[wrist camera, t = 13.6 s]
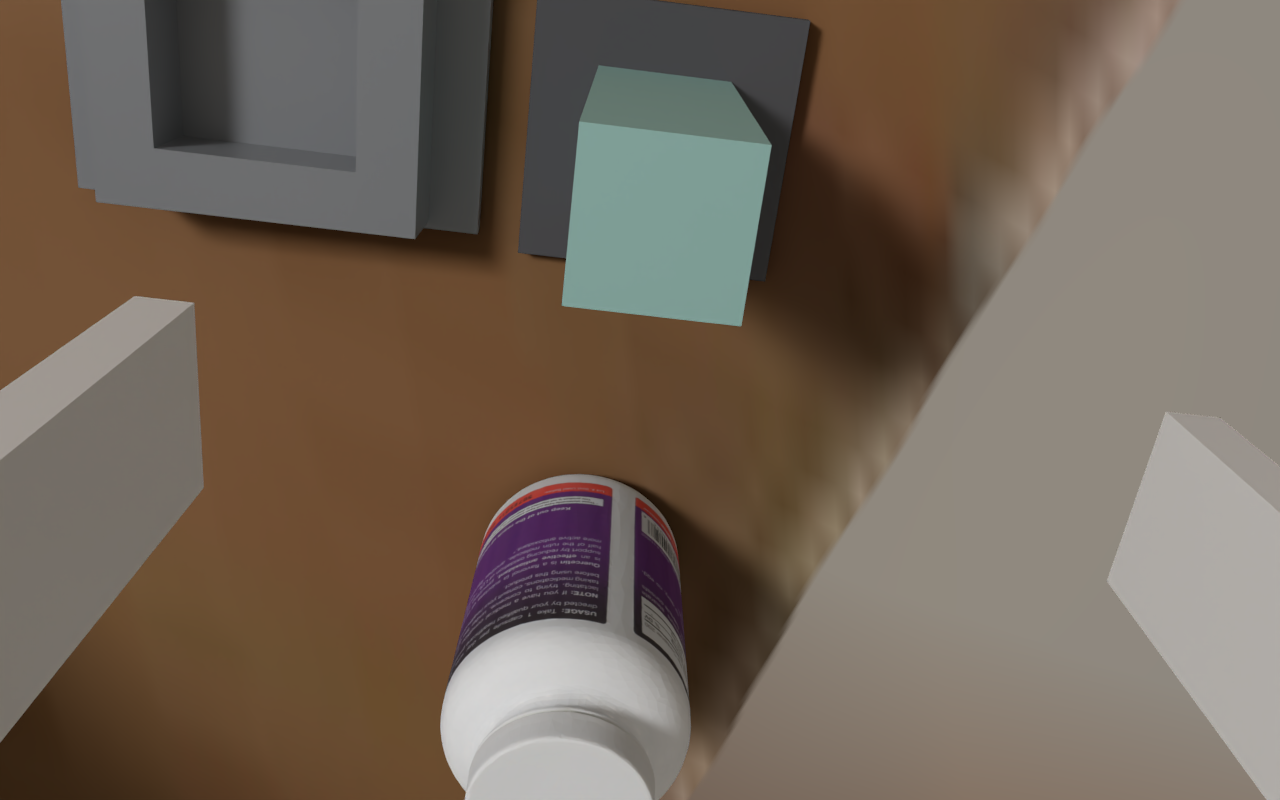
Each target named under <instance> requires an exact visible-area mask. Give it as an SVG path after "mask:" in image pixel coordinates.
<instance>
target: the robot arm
mask: <svg viewBox="0 0 1280 800" xmlns="http://www.w3.org/2000/svg"><path fill="white" fill-rule="evenodd" d="M203 488H204V486H203V466H202V447H201V427H200V408H199V388H198V369H197V349H196V330H195V310H194V303H191V302H183V301H174V300H165V299H156V298H147V297H138V296H134V297H133V298H131V299H130V300H128V301H127V302H126V303H124V304H123V305H121V306H120V307H118V308H117V309H116V310H114V311H113V312H111V313H110V314H109V315H107V316H106V317H104V318H103V319H101V320H100V321H99V322H97V323H96V324H94V325H93V326H91V327H90V328H89V329H87V330H86V331H84V332H83V333H81V334H80V335H79V336H77V337H76V338H74V339H73V340H72V341H70V342H69V343H67V344H66V345H64V346H63V347H62V348H60V349H59V350H57V351H56V352H54V353H53V354H52V355H50V356H49V357H47V358H46V359H44V360H43V361H42V362H40V363H39V364H37V365H36V366H34V367H33V368H32V369H30V370H29V371H27V372H26V373H25V374H23V375H22V376H20V377H19V378H17V379H16V380H15V381H13V382H12V383H10V384H9V385H7V386H6V387H5V388H3V389H2V390H0V742H1V741H2V740H3V739H4V737H5V736H6V735H7V734H8V732H9V731H10V730H11V729H12V727H13V726H14V725H15V724H16V722H17V721H18V720H19V719H20V717H21V716H22V715H23V714H24V712H25V711H26V710H27V708H28V707H29V706H30V705H31V703H32V702H33V701H34V700H35V698H36V697H37V696H38V695H39V693H40V692H41V691H42V690H43V688H44V687H45V686H46V685H47V683H48V682H49V681H50V680H51V678H52V677H53V676H54V675H55V673H56V672H57V671H58V670H59V668H60V667H61V666H62V665H63V663H64V662H65V661H66V660H67V658H68V657H69V656H70V655H71V653H72V652H73V651H74V650H75V648H76V647H77V646H78V645H79V643H80V642H81V641H82V640H83V638H84V637H85V636H86V635H87V633H88V632H89V631H90V630H91V628H92V627H93V626H94V625H95V623H96V622H97V621H98V619H99V618H100V617H101V616H102V614H103V613H104V612H105V611H106V609H107V608H108V607H109V606H110V604H111V603H112V602H113V601H114V599H115V598H116V597H117V596H118V594H119V593H120V592H121V591H122V589H123V588H124V587H125V586H126V584H127V583H128V582H129V581H130V579H131V578H132V577H133V576H134V574H135V573H136V572H137V571H138V569H139V568H140V567H141V566H142V564H143V563H144V562H145V561H146V559H147V558H148V557H149V556H150V554H151V553H152V552H153V551H154V549H155V548H156V547H157V546H158V544H159V543H160V542H161V541H162V539H163V538H164V537H165V535H166V534H167V533H168V532H169V530H170V529H171V528H172V527H173V525H174V524H175V523H176V522H177V520H178V519H179V518H180V517H181V515H182V514H183V513H184V512H185V510H186V509H187V508H188V507H189V505H190V504H191V503H192V502H193V500H194V499H195V498H196V497H197V495H198V494H199V493H200V492H201V490H202V489H203ZM1107 582H1108V584H1109V585H1110V586H1111V588H1112V589H1113V590H1114V592H1115V593H1116V594H1117V596H1118V597H1119V599H1120V600H1121V601H1122V603H1123V604H1124V605H1125V607H1126V608H1127V610H1128V611H1129V612H1130V614H1131V615H1132V616H1133V618H1134V619H1135V621H1136V622H1137V623H1138V625H1139V626H1140V627H1141V629H1142V630H1143V632H1144V633H1145V634H1146V636H1147V637H1148V638H1149V640H1150V641H1151V642H1152V644H1153V645H1154V647H1155V648H1156V649H1157V651H1158V652H1159V653H1160V655H1161V656H1162V657H1163V659H1164V660H1165V662H1166V663H1167V664H1168V666H1169V667H1170V668H1171V670H1172V671H1173V672H1174V674H1175V675H1176V677H1177V678H1178V679H1179V681H1180V682H1181V683H1182V685H1183V686H1184V687H1185V689H1186V690H1187V692H1188V693H1189V694H1190V696H1191V697H1192V699H1193V700H1194V701H1195V702H1196V704H1197V705H1198V707H1199V708H1200V709H1201V711H1202V712H1203V713H1204V715H1205V716H1206V718H1207V719H1208V720H1209V722H1210V723H1211V724H1212V726H1213V727H1214V729H1215V730H1216V731H1217V732H1218V734H1219V735H1220V737H1221V738H1222V739H1223V741H1224V742H1225V744H1226V745H1227V746H1228V748H1229V749H1230V750H1231V752H1232V753H1233V754H1234V756H1235V757H1236V759H1237V760H1238V761H1239V763H1240V764H1241V766H1242V767H1243V768H1244V769H1245V771H1246V772H1247V774H1248V775H1249V776H1250V778H1251V779H1252V780H1253V782H1254V783H1255V785H1256V786H1257V787H1258V789H1259V790H1260V791H1261V793H1262V794H1263V796H1264V797H1265V798H1266V800H1280V466H1279V465H1277V464H1276V463H1275V462H1274V461H1272V460H1271V459H1270V458H1269V457H1268V456H1266V455H1265V454H1264V453H1263V452H1261V451H1260V450H1259V449H1258V448H1257V447H1256V446H1254V445H1253V444H1252V443H1251V442H1249V441H1248V440H1247V439H1246V438H1245V437H1243V436H1242V435H1241V434H1240V433H1238V432H1237V431H1236V430H1234V429H1233V428H1232V427H1231V426H1230V425H1229V424H1227V423H1226V422H1225V421H1224V420H1223V419H1221V418H1220V417H1211V416H1202V415H1192V414H1184V413H1175V412H1166V413H1165V416H1164V419H1163V422H1162V424H1161V428H1160V430H1159V433H1158V436H1157V439H1156V442H1155V445H1154V447H1153V450H1152V453H1151V456H1150V459H1149V462H1148V465H1147V467H1146V470H1145V473H1144V476H1143V479H1142V482H1141V485H1140V488H1139V490H1138V493H1137V496H1136V499H1135V502H1134V505H1133V507H1132V511H1131V513H1130V516H1129V519H1128V522H1127V525H1126V527H1125V530H1124V533H1123V536H1122V539H1121V542H1120V545H1119V548H1118V551H1117V553H1116V557H1115V559H1114V562H1113V565H1112V567H1111V570H1110V574H1109V576H1108V579H1107Z"/></svg>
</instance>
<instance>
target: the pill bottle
mask: <svg viewBox="0 0 1280 800" xmlns="http://www.w3.org/2000/svg"><path fill="white" fill-rule="evenodd" d="M440 727H441V739H442V745H443V749H444V753H445V756H446V759H447V762H448V764H449V766H450V768H451V770H452V772H453V774H454V776H455V777H456V779H457V780H458V782H459V783H460V785H461V786H462V787H463V789H464V790H465V791H466V795H465V800H659V799H660V798H661V797H662V796H663V795H664V794H665V793H666V792H667V790H668V789H669V788H670V786H671V785H672V783H673V782H674V781H675V779H676V777H677V775H678V774H679V772H680V770H681V767H682V765H683V762H684V760H685V757H686V753H687V750H688V747H689V741H690V733H691V715H690V703H689V691H688V678H687V665H686V652H685V639H684V625H683V612H682V598H681V585H680V569H679V559H678V551H677V546H676V542H675V539H674V536H673V533H672V531H671V529H670V527H669V525H668V523H667V521H666V519H665V518H664V516H663V515H662V514H661V513H660V511H659V510H658V509H657V508H656V507H655V506H654V504H652V503H651V502H650V501H649V500H648V499H647V498H646V497H644V496H643V495H642V494H640V493H639V492H638V491H636V490H634V489H633V488H631V487H629V486H627V485H625V484H623V483H620V482H618V481H615V480H612V479H609V478H605V477H601V476H595V475H587V474H570V475H561V476H555V477H551V478H547V479H545V480H542V481H539V482H536V483H534V484H532V485H530V486H528V487H526V488H524V489H522V490H521V491H519V492H518V493H517V494H515V495H514V496H513V497H511V498H510V499H509V500H508V501H507V502H506V503H505V504H504V505H503V506H502V507H501V508H500V509H499V511H498V512H497V513H496V515H495V516H494V517H493V519H492V521H491V522H490V524H489V526H488V529H487V531H486V533H485V536H484V539H483V543H482V546H481V549H480V553H479V558H478V563H477V567H476V571H475V575H474V579H473V583H472V587H471V591H470V595H469V599H468V604H467V608H466V612H465V616H464V620H463V624H462V628H461V632H460V636H459V640H458V644H457V648H456V652H455V656H454V660H453V664H452V668H451V672H450V676H449V680H448V684H447V687H446V692H445V697H444V702H443V706H442V712H441V724H440Z"/></svg>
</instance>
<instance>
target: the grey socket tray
mask: <svg viewBox="0 0 1280 800" xmlns="http://www.w3.org/2000/svg"><path fill="white" fill-rule="evenodd" d="M61 5H62V15H63V26H64V37H65V48H66V58H67V69H68V80H69V91H70V101H71V112H72V123H73V134H74V144H75V155H76V166H77V176H78V187H79V188H87V189H95V195H96V202H101V203H109V204H118V205H127V206H135V207H144V208H152V209H161V210H169V211H178V212H187V213H195V214H204V215H212V216H221V217H229V218H238V219H247V220H255V221H264V222H272V223H281V224H289V225H298V226H307V227H315V228H324V229H332V230H341V231H349V232H358V233H367V234H375V235H384V236H392V237H401V238H409V239H416V237H417V236H418V235H419V233H420V232H421V231H422V229H423V228H428V229H437V230H445V231H454V232H462V233H471V234H478V232H479V230H480V215H481V198H482V181H483V165H484V148H485V132H486V115H487V99H488V82H489V65H490V49H491V32H492V16H493V0H61Z"/></svg>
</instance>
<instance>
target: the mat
mask: <svg viewBox="0 0 1280 800" xmlns="http://www.w3.org/2000/svg"><path fill="white" fill-rule="evenodd" d="M809 26H810V21H809V20H806V19H798V18H791V17H783V16H775V15H767V14H760V13H752V12H744V11H736V10H728V9H721V8H713V7H705V6H697V5H689V4H682V3H674V2H666V1H658V0H537V10H536V23H535V36H534V49H533V63H532V76H531V89H530V102H529V115H528V128H527V142H526V155H525V168H524V181H523V194H522V208H521V221H520V234H519V247H518V253H525V254H534V255H542V256H551V257H560V258H566V256H567V245H568V235H569V224H570V214H571V203H572V192H573V182H574V171H575V161H576V150H577V140H578V129H579V121H580V118H581V115H582V112H583V109H584V106H585V103H586V101H587V98H588V95H589V92H590V89H591V86H592V83H593V81H594V78H595V75H596V72H597V69H598V66H599V65H600V66H608V67H616V68H624V69H632V70H640V71H648V72H656V73H664V74H672V75H680V76H688V77H696V78H704V79H712V80H720V81H728V82H732V84H733V85H734V87H735V88H736V90H737V91H738V93H739V95H740V96H741V98H742V99H743V101H744V102H745V104H746V106H747V107H748V109H749V110H750V112H751V113H752V115H753V117H754V118H755V120H756V121H757V123H758V124H759V126H760V127H761V129H762V131H763V132H764V134H765V135H766V137H767V138H768V140H769V142H770V143H771V145H772V146H771V152H770V158H769V164H768V170H767V176H766V182H765V188H764V194H763V200H762V206H761V212H760V218H759V224H758V230H757V235H756V241H755V247H754V253H753V259H752V265H751V271H750V277H749V280H757V281H765V279H766V273H767V267H768V262H769V256H770V250H771V244H772V239H773V233H774V227H775V221H776V216H777V210H778V204H779V199H780V193H781V187H782V181H783V176H784V170H785V164H786V158H787V153H788V147H789V141H790V135H791V130H792V124H793V118H794V112H795V107H796V101H797V95H798V89H799V84H800V78H801V72H802V66H803V61H804V55H805V49H806V43H807V38H808V32H809Z"/></svg>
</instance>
